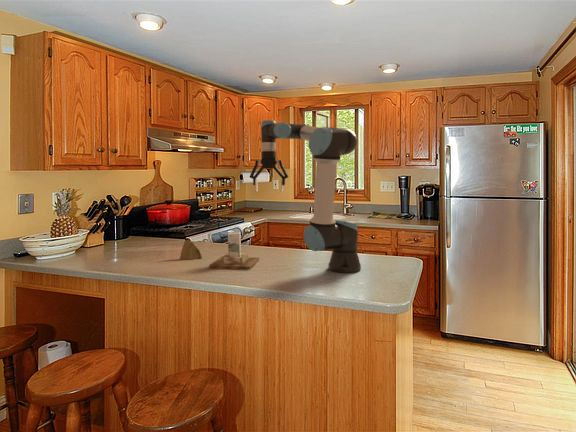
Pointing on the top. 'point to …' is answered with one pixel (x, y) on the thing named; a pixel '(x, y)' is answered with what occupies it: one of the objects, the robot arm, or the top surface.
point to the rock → (189, 251)
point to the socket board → (234, 262)
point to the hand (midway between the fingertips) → (269, 191)
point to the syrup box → (234, 244)
